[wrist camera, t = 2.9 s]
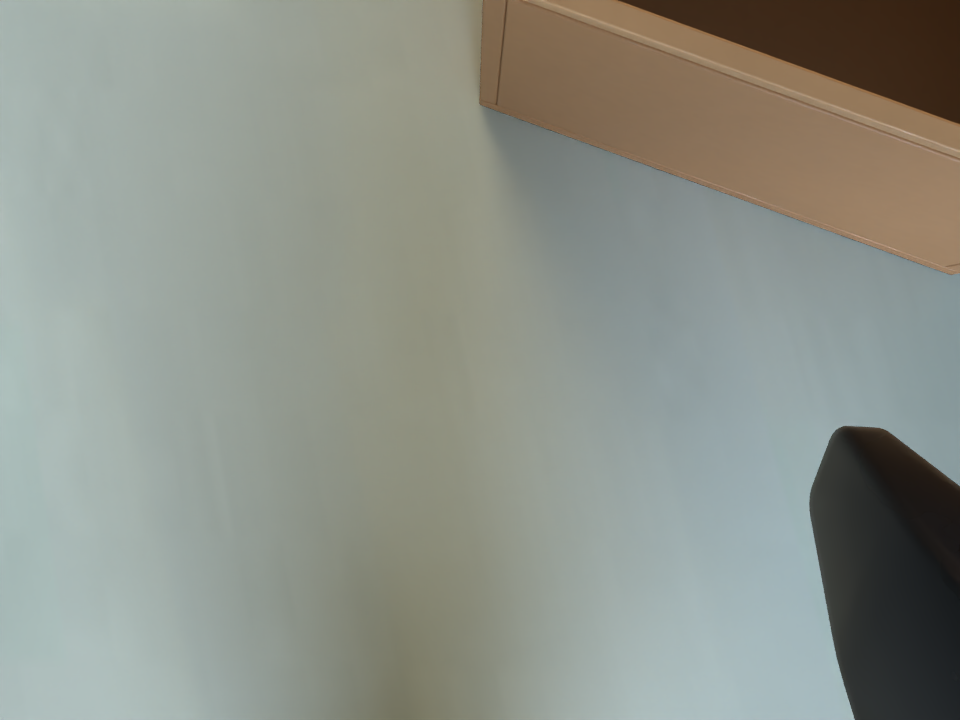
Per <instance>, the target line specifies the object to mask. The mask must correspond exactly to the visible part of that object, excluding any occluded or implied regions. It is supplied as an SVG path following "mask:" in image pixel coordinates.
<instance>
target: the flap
mask: <svg viewBox="0 0 960 720" xmlns="http://www.w3.org/2000/svg"><path fill="white" fill-rule="evenodd" d="M524 1H527V2H529V3H532V4H535V5H538V6H541V7H543V8H546V9H549V10H552V11H554V12H557V13H560V14H563V15H565V16H568V17H571V18H574V19H576V20H579V21H582V22H585V23H587V24H590V25H593V26H596V27H598V28H601V29H604V30H607V31H610V32H612V33H615V34H618V35H621V36H623V37H626V38H629V39H632V40H634V41H637V42H640V43H643V44H645V45H648V46H651V47H654V48H656V49H659V50H662V51H665V52H667V53H670V54H673V55H676V56H679V57H681V58H684V59H687V60H690V61H692V62H695V63H698V64H701V65H703V66H706V67H709V68H712V69H714V70H717V71H720V72H723V73H725V74H728V75H731V76H734V77H736V78H739V79H742V80H745V81H747V82H750V83H753V84H756V85H759V86H761V87H764V88H767V89H770V90H772V91H775V92H778V93H781V94H783V95H786V96H789V97H792V98H794V99H797V100H800V101H803V102H805V103H808V104H811V105H814V106H816V107H819V108H822V109H825V110H828V111H830V112H833V113H836V114H839V115H841V116H844V117H847V118H850V119H852V120H855V121H858V122H861V123H863V124H866V125H869V126H872V127H874V128H877V129H880V130H883V131H885V132H888V133H891V134H894V135H897V136H899V137H902V138H905V139H908V140H910V141H913V142H916V143H919V144H921V145H924V146H927V147H930V148H932V149H935V150H938V151H941V152H943V153H946V154H949V155H952V156H954V157H957V158H960V124H957V123H954V122H951V121H949V120H946V119H943V118H940V117H938V116H935V115H932V114H929V113H927V112H924V111H921V110H918V109H916V108H913V107H910V106H907V105H905V104H902V103H899V102H896V101H894V100H891V99H888V98H885V97H883V96H880V95H877V94H874V93H871V92H869V91H866V90H863V89H860V88H858V87H855V86H852V85H849V84H847V83H844V82H841V81H838V80H836V79H833V78H830V77H827V76H825V75H822V74H819V73H816V72H814V71H811V70H808V69H805V68H803V67H800V66H797V65H794V64H792V63H789V62H786V61H783V60H781V59H778V58H775V57H772V56H769V55H767V54H764V53H761V52H758V51H756V50H753V49H750V48H747V47H745V46H742V45H739V44H736V43H734V42H731V41H728V40H725V39H723V38H720V37H717V36H714V35H712V34H709V33H706V32H703V31H701V30H698V29H695V28H692V27H690V26H687V25H684V24H681V23H678V22H676V21H673V20H670V19H667V18H665V17H662V16H659V15H656V14H654V13H651V12H648V11H645V10H643V9H640V8H637V7H634V6H632V5H629V4H626V3H623V2H621V1H618V0H524Z"/></svg>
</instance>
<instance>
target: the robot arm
mask: <svg viewBox="0 0 960 720" xmlns="http://www.w3.org/2000/svg"><path fill="white" fill-rule="evenodd" d="M809 506H810V516H811V522H812V527H813V533H814V538H815V544H816V549H817V555H818V560H819V566H820V571H821V577H822V582H823V588H824V593H825V599H826V604H827V610H828V615H829V621H830V626H831V632H832V637H833V642H834V646H835V651H836V656H837V660H838V664H839V668H840V671H841V675H842V678H843V682H844V686H845V689H846V692H847V695H848V699H849V702H850V705H851V709H852V712H853V715H854V718H855V720H960V486H959V485H957V484H956V483H955V482H954V481H952V480H951V479H950V478H948V477H947V476H946V475H944V474H943V473H942V472H940V471H939V470H938V469H937V468H935V467H934V466H933V465H931V464H930V463H929V462H927V461H926V460H925V459H923V458H922V457H921V456H920V455H918V454H917V453H916V452H914V451H913V450H912V449H910V448H909V447H908V446H906V445H905V444H904V443H903V442H901V441H900V440H899V439H897V438H896V437H895V436H893V435H892V434H891V433H889V432H888V431H886V430H884V429H881V428H874V427H854V426H843V427H841V428H838V429H837V430H836V431H835V432H834V433H833V434H832V436H831V438H830V440H829V443H828V446H827V448H826V451H825V454H824V456H823V459H822V461H821V464H820V467H819V469H818V472H817V475H816V477H815V480H814V483H813V485H812V488H811V493H810V502H809Z"/></svg>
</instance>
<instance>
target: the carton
mask: <svg viewBox="0 0 960 720" xmlns="http://www.w3.org/2000/svg"><path fill="white" fill-rule="evenodd" d="M618 1H621V2H623V3H626V4H629V5H632V6H634V7H637V8H640V9H643V10H645V11H648V12H651V13H654V14H656V15H659V16H662V17H665V18H667V19H670V20H673V21H676V22H678V23H681V24H684V25H687V26H690V27H692V28H695V29H698V30H701V31H703V32H706V33H709V34H712V35H714V36H717V37H720V38H723V39H725V40H728V41H731V42H734V43H736V44H739V45H742V46H745V47H747V48H750V49H753V50H756V51H758V52H761V53H764V54H767V55H769V56H772V57H775V58H778V59H781V60H783V61H786V62H789V63H792V64H794V65H797V66H800V67H803V68H805V69H808V70H811V71H814V72H816V73H819V74H822V75H825V76H827V77H830V78H833V79H836V80H838V81H841V82H844V83H847V84H849V85H852V86H855V87H858V88H860V89H863V90H866V91H869V92H871V93H874V94H877V95H880V96H883V97H885V98H888V99H891V100H894V101H896V102H899V103H902V104H905V105H907V106H910V107H913V108H916V109H918V110H921V111H924V112H927V113H929V114H932V115H935V116H938V117H940V118H943V119H946V120H949V121H951V122H954V123H957V124H960V0H618ZM479 104H480V105H482V106H485V107H488V108H490V109H493V110H496V111H499V112H502V113H504V114H507V115H510V116H513V117H515V118H518V119H521V120H524V121H526V122H529V123H532V124H535V125H538V126H540V127H543V128H546V129H549V130H551V131H554V132H557V133H560V134H562V135H565V136H568V137H571V138H574V139H576V140H579V141H582V142H585V143H587V144H590V145H593V146H596V147H598V148H601V149H604V150H607V151H609V152H612V153H615V154H618V155H621V156H623V157H626V158H629V159H632V160H634V161H637V162H640V163H643V164H645V165H648V166H651V167H654V168H657V169H659V170H662V171H665V172H668V173H670V174H673V175H676V176H679V177H681V178H684V179H687V180H690V181H693V182H695V183H698V184H701V185H704V186H706V187H709V188H712V189H715V190H717V191H720V192H723V193H726V194H729V195H731V196H734V197H737V198H740V199H742V200H745V201H748V202H751V203H753V204H756V205H759V206H762V207H764V208H767V209H770V210H773V211H776V212H778V213H781V214H784V215H787V216H789V217H792V218H795V219H798V220H800V221H803V222H806V223H809V224H812V225H814V226H817V227H820V228H823V229H825V230H828V231H831V232H834V233H836V234H839V235H842V236H845V237H848V238H850V239H853V240H856V241H859V242H861V243H864V244H867V245H870V246H872V247H875V248H878V249H881V250H884V251H886V252H889V253H892V254H895V255H897V256H900V257H903V258H906V259H908V260H911V261H914V262H917V263H919V264H922V265H925V266H928V267H931V268H933V269H936V270H939V271H942V272H944V273H947V274H950V275H952V274H958V273H960V158H957V157H954V156H952V155H949V154H946V153H943V152H941V151H938V150H935V149H932V148H930V147H927V146H924V145H921V144H919V143H916V142H913V141H910V140H908V139H905V138H902V137H899V136H897V135H894V134H891V133H888V132H885V131H883V130H880V129H877V128H874V127H872V126H869V125H866V124H863V123H861V122H858V121H855V120H852V119H850V118H847V117H844V116H841V115H839V114H836V113H833V112H830V111H828V110H825V109H822V108H819V107H816V106H814V105H811V104H808V103H805V102H803V101H800V100H797V99H794V98H792V97H789V96H786V95H783V94H781V93H778V92H775V91H772V90H770V89H767V88H764V87H761V86H759V85H756V84H753V83H750V82H747V81H745V80H742V79H739V78H736V77H734V76H731V75H728V74H725V73H723V72H720V71H717V70H714V69H712V68H709V67H706V66H703V65H701V64H698V63H695V62H692V61H690V60H687V59H684V58H681V57H679V56H676V55H673V54H670V53H667V52H665V51H662V50H659V49H656V48H654V47H651V46H648V45H645V44H643V43H640V42H637V41H634V40H632V39H629V38H626V37H623V36H621V35H618V34H615V33H612V32H610V31H607V30H604V29H601V28H598V27H596V26H593V25H590V24H587V23H585V22H582V21H579V20H576V19H574V18H571V17H568V16H565V15H563V14H560V13H557V12H554V11H552V10H549V9H546V8H543V7H541V6H538V5H535V4H532V3H529V2H527V1H524V0H483V9H482V39H481V68H480V98H479Z"/></svg>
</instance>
